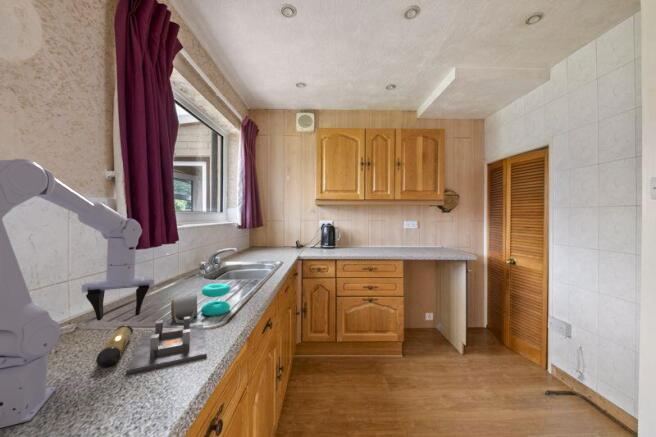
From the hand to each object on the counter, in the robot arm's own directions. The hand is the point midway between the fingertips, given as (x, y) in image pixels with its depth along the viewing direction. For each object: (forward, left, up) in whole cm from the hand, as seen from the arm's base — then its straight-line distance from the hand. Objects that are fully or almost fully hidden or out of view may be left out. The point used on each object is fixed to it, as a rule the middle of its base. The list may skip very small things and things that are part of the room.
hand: (119, 316), depth 65 cm
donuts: (+21, -25, -9) cm, 34 cm away
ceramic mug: (+19, -15, -9) cm, 26 cm away
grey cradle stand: (-3, -12, -9) cm, 15 cm away
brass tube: (0, 0, -9) cm, 9 cm away
